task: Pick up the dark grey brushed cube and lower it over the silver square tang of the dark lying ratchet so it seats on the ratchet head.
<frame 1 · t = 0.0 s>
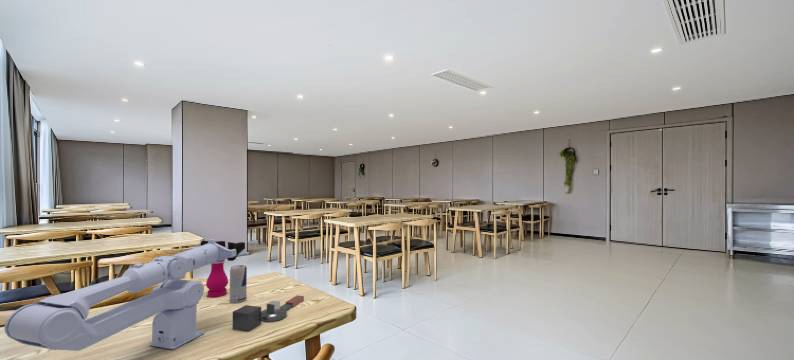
hand: (234, 244, 106), 22 cm above the table, tool horizontal, fingers open, 7 cm apart
energy drink: (238, 301, 116), on the table
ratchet: (273, 317, 102), on the table
pepper mill: (217, 295, 122), on the table
dark grey brushed cube: (247, 326, 95), on the table
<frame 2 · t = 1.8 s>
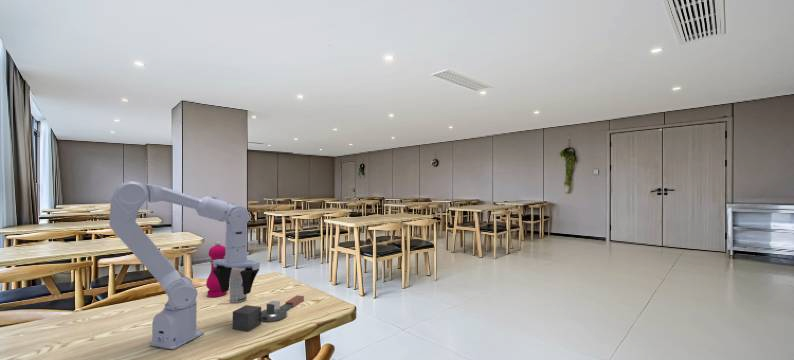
hand: (236, 292, 96), 9 cm above the table, tool pointing down, fingers open, 7 cm apart
nothing on the table moved.
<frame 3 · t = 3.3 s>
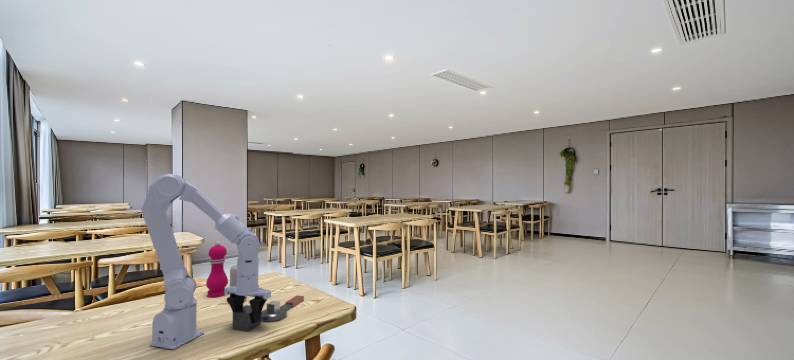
hand: (247, 320, 95), 2 cm above the table, tool pointing down, fingers closed on dark grey brushed cube, 5 cm apart
dark grey brushed cube: (247, 326, 95), on the table, touching gripper
everything else where it was.
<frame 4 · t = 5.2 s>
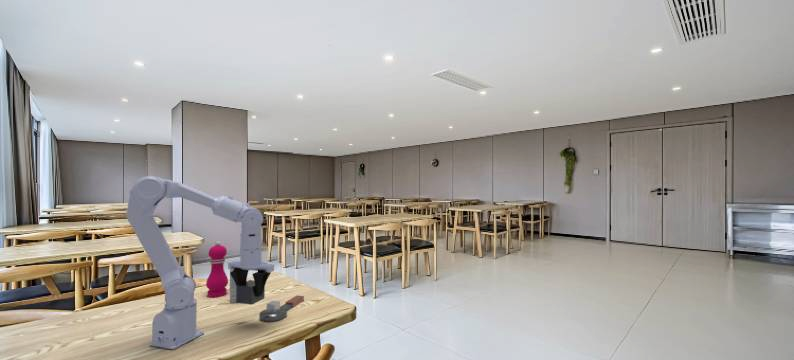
hand: (250, 294, 96), 9 cm above the table, tool pointing down, fingers closed on dark grey brushed cube, 5 cm apart
dark grey brushed cube: (250, 300, 96), point 7 cm above the table, touching gripper
everything else where it was.
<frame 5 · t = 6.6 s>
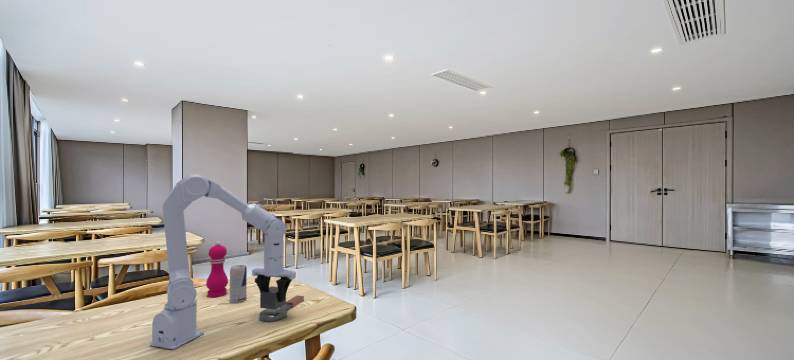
hand: (273, 300, 102), 5 cm above the table, tool pointing down, fingers closed on dark grey brushed cube, 5 cm apart
dark grey brushed cube: (273, 305, 102), point 4 cm above the table, touching gripper
everything else where it was.
when the fingers open (4 cm above the table, at t = 7.5 s): dark grey brushed cube stays where it is, resting on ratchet.
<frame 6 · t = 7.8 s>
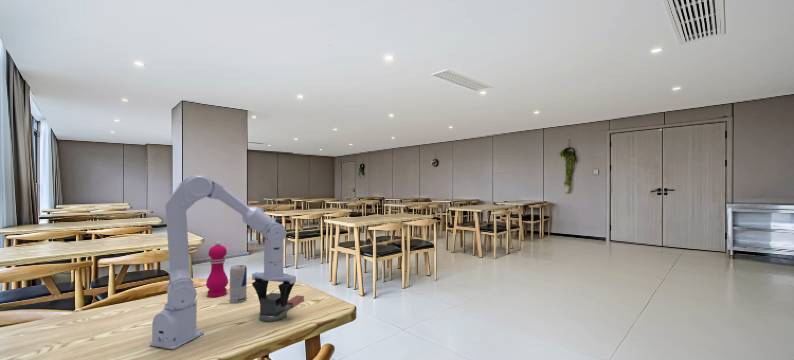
hand: (273, 304, 102), 4 cm above the table, tool pointing down, fingers open, 7 cm apart
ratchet: (273, 317, 102), on the table, touching dark grey brushed cube
dark grey brushed cube: (273, 312, 102), point 1 cm above the table, touching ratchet
everything else where it was.
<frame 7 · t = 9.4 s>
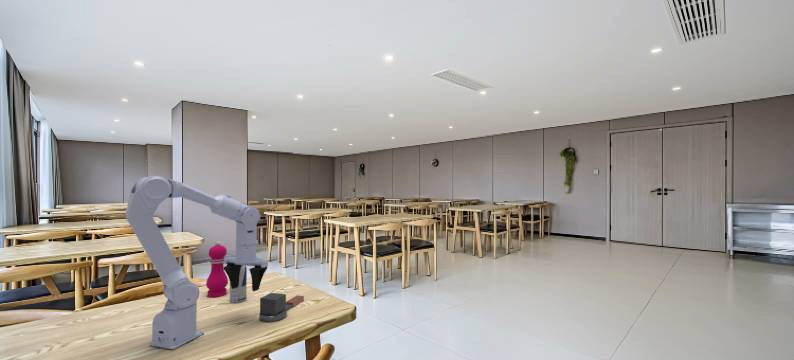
hand: (245, 289, 100), 9 cm above the table, tool pointing down, fingers open, 7 cm apart
nothing on the table moved.
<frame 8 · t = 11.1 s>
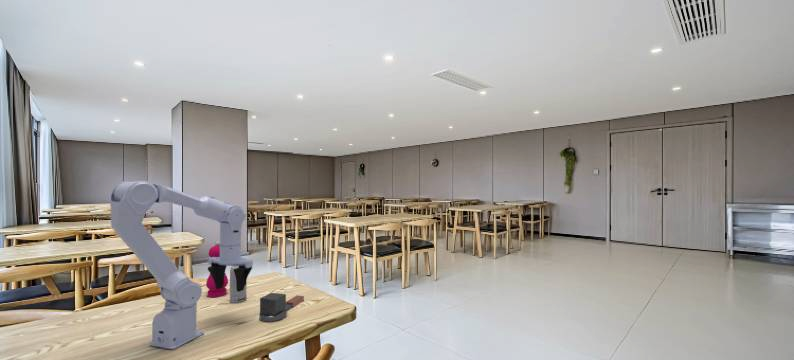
hand: (229, 289, 99), 9 cm above the table, tool pointing down, fingers open, 7 cm apart
nothing on the table moved.
at the end: dark grey brushed cube 0.1 cm off-centre on the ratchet, point 1.5 cm above the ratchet's base; dark grey brushed cube tilted 0°; the gripper is holding nothing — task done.
